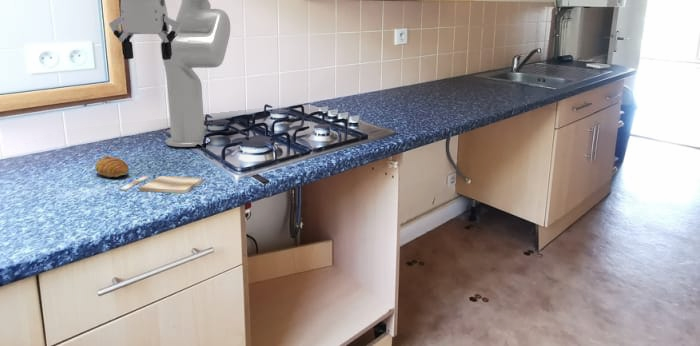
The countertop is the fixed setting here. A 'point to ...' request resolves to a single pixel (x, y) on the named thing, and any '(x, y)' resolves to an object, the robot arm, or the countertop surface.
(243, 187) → the countertop surface
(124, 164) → the pastry
